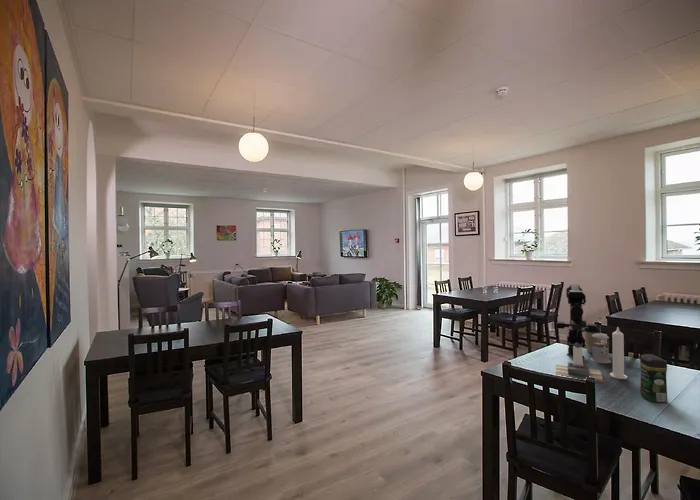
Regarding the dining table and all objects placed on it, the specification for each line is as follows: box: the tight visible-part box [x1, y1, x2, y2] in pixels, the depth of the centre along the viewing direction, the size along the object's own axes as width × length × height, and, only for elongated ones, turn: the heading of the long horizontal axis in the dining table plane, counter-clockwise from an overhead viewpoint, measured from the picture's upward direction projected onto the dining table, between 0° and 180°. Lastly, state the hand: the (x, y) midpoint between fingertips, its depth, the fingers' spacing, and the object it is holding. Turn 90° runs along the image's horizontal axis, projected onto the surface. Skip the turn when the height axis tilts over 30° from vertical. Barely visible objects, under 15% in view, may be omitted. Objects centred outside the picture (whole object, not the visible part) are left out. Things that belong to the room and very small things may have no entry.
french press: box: [590, 316, 612, 364], centre depth 206 cm, size 10×12×25 cm
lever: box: [572, 343, 584, 365], centre depth 188 cm, size 3×4×11 cm
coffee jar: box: [639, 353, 668, 404], centre depth 156 cm, size 10×8×19 cm
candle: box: [609, 326, 628, 380], centre depth 182 cm, size 7×7×25 cm
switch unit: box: [555, 361, 604, 384], centre depth 186 cm, size 16×20×5 cm
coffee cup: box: [584, 326, 603, 354], centre depth 221 cm, size 9×9×15 cm
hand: (576, 341), depth 199 cm, fingers closed
